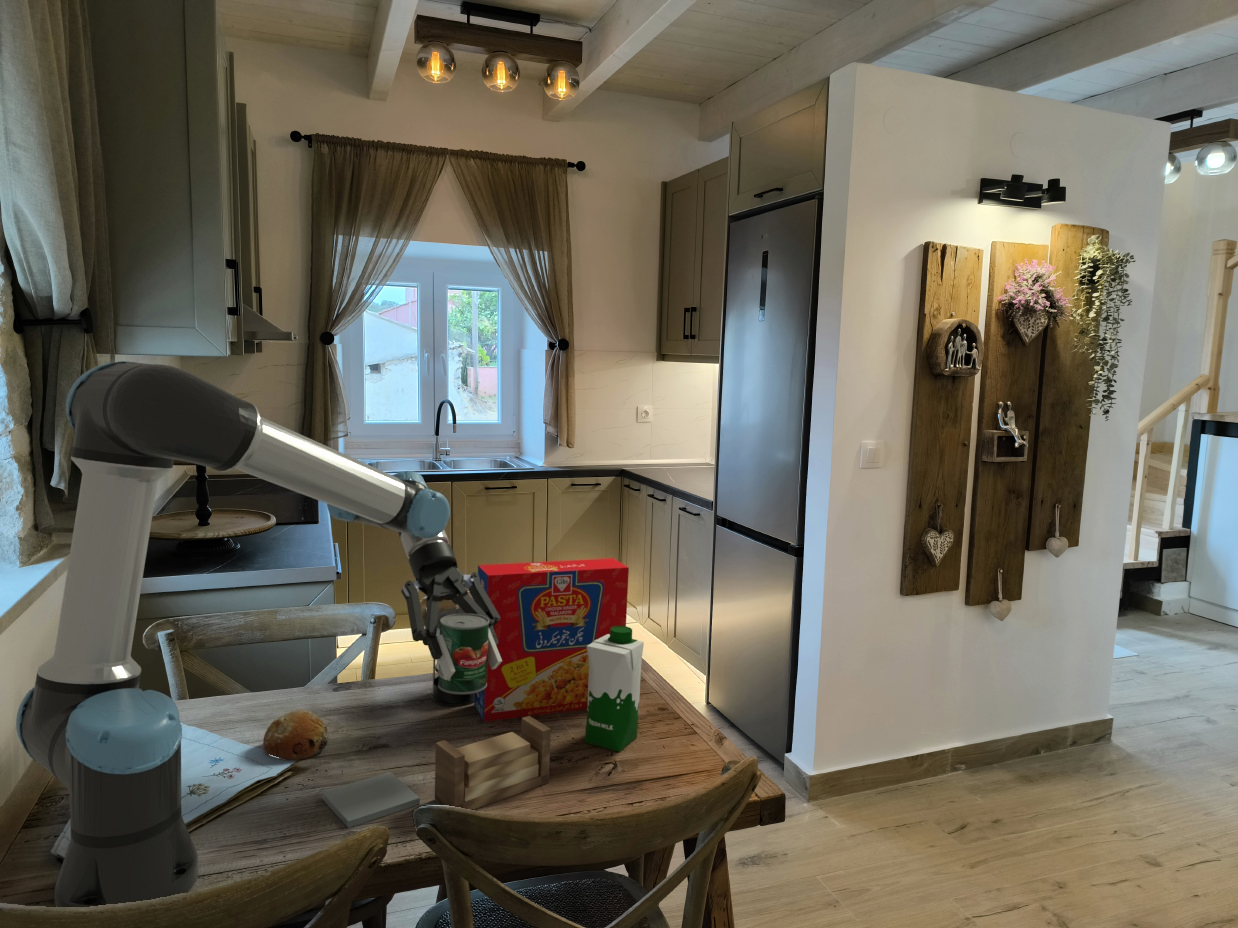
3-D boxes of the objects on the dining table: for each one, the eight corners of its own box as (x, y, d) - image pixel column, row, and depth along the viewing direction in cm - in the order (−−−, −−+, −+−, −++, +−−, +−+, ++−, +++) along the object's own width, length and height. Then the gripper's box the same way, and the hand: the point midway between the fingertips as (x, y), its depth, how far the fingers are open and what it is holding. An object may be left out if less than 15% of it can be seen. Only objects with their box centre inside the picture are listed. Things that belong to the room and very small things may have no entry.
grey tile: (348, 827, 116) (348, 821, 116) (321, 798, 124) (321, 791, 124) (419, 803, 123) (419, 797, 123) (390, 777, 131) (390, 771, 131)
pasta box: (484, 721, 153) (488, 575, 150) (474, 705, 160) (478, 565, 157) (622, 704, 164) (628, 567, 161) (607, 689, 171) (613, 558, 168)
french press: (482, 705, 160) (486, 590, 157) (433, 709, 157) (436, 592, 154) (475, 683, 171) (477, 575, 168) (428, 686, 168) (431, 576, 166)
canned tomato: (455, 673, 139) (457, 610, 138) (495, 681, 136) (498, 617, 135) (428, 688, 132) (430, 622, 131) (470, 698, 129) (472, 630, 128)
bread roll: (309, 751, 146) (297, 708, 147) (345, 742, 141) (332, 697, 142) (260, 774, 137) (247, 727, 138) (296, 764, 132) (282, 716, 133)
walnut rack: (454, 816, 120) (455, 757, 119) (434, 798, 125) (435, 742, 124) (548, 782, 131) (550, 728, 130) (527, 767, 136) (529, 715, 135)
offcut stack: (464, 801, 122) (465, 764, 121) (447, 786, 126) (447, 750, 125) (538, 776, 130) (539, 741, 130) (519, 762, 134) (520, 729, 134)
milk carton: (643, 736, 150) (649, 630, 147) (620, 755, 142) (626, 643, 139) (601, 725, 154) (606, 621, 151) (577, 743, 146) (581, 634, 143)
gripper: (473, 557, 151) (518, 668, 140) (364, 570, 137) (406, 694, 127) (489, 534, 146) (537, 647, 136) (379, 545, 133) (423, 671, 122)
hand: (474, 669), depth 131 cm, fingers closed on canned tomato, 8 cm apart
